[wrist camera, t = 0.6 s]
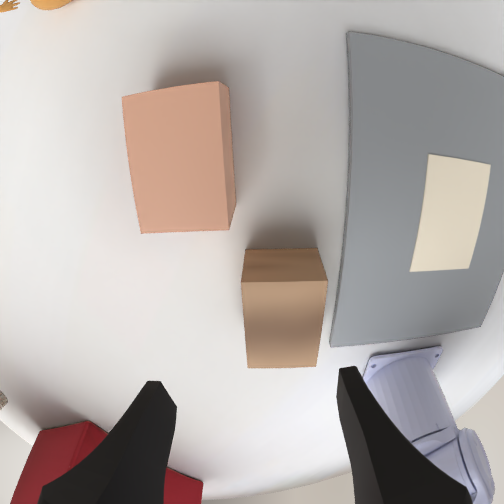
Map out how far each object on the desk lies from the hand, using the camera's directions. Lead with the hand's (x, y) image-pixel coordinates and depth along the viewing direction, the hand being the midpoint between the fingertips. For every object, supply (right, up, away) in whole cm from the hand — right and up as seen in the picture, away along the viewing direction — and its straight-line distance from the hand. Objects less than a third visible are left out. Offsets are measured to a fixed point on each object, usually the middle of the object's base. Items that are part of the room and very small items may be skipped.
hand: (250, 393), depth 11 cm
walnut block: (+2, +3, +10) cm, 10 cm away
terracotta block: (-3, +12, +5) cm, 13 cm away
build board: (+14, +8, +6) cm, 17 cm away
